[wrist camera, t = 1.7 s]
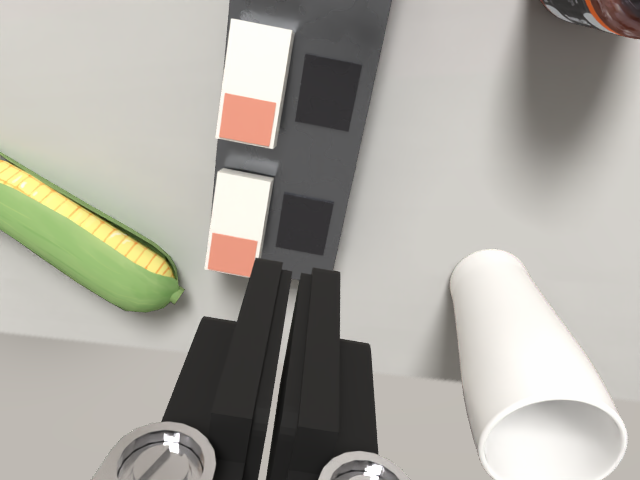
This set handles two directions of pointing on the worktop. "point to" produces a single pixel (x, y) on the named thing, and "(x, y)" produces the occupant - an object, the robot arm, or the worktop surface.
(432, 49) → the worktop surface
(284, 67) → the plate
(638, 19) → the supplement bottle
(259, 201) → the block
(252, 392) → the robot arm
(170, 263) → the edible corn
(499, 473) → the drinking glass
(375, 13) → the rocker switch panel
